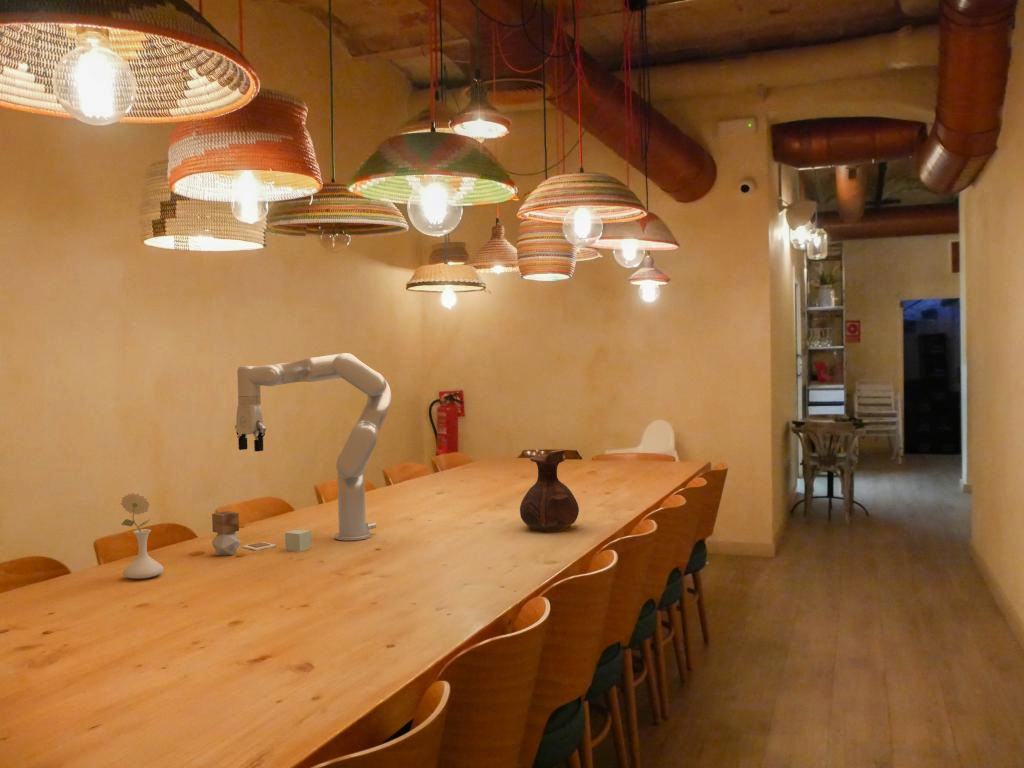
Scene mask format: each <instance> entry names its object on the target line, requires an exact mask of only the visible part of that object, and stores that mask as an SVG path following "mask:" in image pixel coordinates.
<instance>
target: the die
mask: <svg viewBox="0 0 1024 768" xmlns="http://www.w3.org/2000/svg"><path fill="white" fill-rule="evenodd" d="M211 544H212V546H213V548H214V550H215V553H216V555H217V556H222V557H223V556H234V555H235V553H236V552H237V550H238V548H239V547H240V546H241V544H242V543H241V541H240V539H239V536H238V534H237V531H236V532H231V533H225V534H221V533H216V535H215V536H214V537H213V539H212V541H211Z"/></svg>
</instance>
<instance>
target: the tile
mask: <svg viewBox="0 0 1024 768" xmlns="http://www.w3.org/2000/svg"><path fill="white" fill-rule="evenodd" d="M274 547H277V545H276V544H273V543H269V542H265V541H260V542H256V543H250V544H247V545H246V544H245V545H242V547H241V548H243V549H248V550H251V551H259V550H260V551H261V550H264V549H269V548H274Z"/></svg>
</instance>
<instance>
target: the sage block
mask: <svg viewBox="0 0 1024 768" xmlns="http://www.w3.org/2000/svg"><path fill="white" fill-rule="evenodd" d="M284 537H285V539H284V540H285V547H284V548H285V551H287V550H288V551H289V552H297V551H298V552H299V553H301V552H303V551H306V550H309V549H312V530H307V529H294V530H289V531H287V532H284ZM288 551H287V552H288Z"/></svg>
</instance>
